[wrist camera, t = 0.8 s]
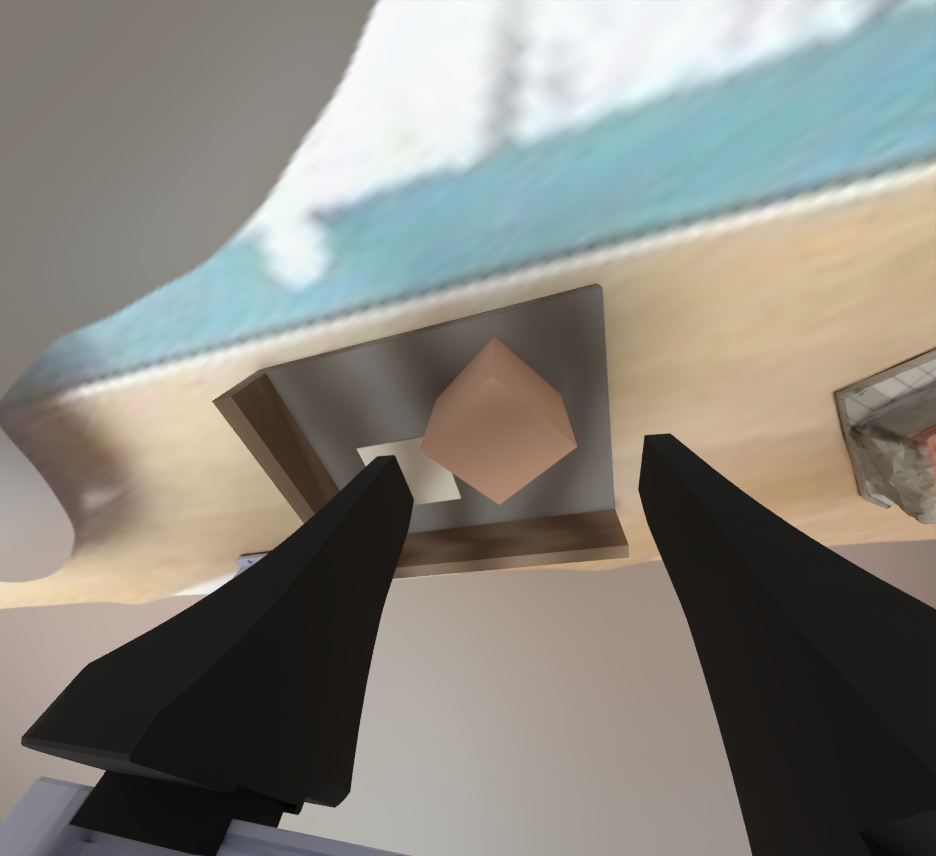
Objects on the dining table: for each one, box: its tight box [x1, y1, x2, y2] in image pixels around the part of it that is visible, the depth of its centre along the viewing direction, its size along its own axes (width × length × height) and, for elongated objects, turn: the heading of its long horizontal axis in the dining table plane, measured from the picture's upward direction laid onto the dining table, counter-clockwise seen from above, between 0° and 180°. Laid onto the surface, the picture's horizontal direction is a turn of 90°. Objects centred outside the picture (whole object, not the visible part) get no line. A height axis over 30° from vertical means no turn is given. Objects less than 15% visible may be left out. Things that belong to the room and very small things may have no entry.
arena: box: [212, 284, 629, 579], centre depth 21 cm, size 20×16×4 cm
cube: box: [419, 336, 577, 505], centre depth 17 cm, size 5×5×5 cm
